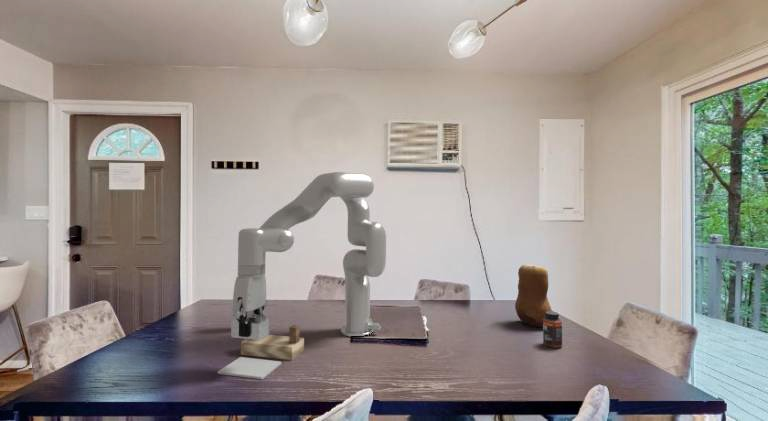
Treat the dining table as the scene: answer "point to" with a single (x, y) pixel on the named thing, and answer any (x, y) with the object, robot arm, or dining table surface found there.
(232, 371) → the mat
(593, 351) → the dining table surface
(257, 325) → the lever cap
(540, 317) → the butternut squash
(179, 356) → the dining table surface
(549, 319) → the supplement bottle
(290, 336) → the wooden peg stand
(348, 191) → the robot arm
